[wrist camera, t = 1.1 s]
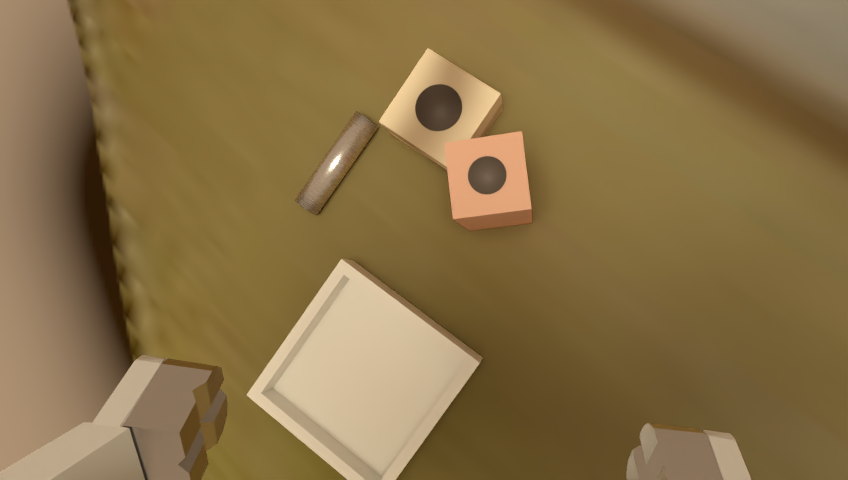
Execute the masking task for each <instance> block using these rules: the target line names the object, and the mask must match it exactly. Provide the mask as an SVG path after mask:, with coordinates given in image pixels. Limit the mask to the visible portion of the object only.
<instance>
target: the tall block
mask: <svg viewBox="0 0 848 480" xmlns="http://www.w3.org/2000/svg"><path fill="white" fill-rule="evenodd" d="M444 145H445V154H446V163H447V172H448V180H449V189H450V198H451V207H452V215H453V220H455V221H456V222H458V223H459V224H460V225H462V226H463V227H465V228H466V229H467V230H469V231H472V230H480V229H488V228H496V227H504V226H512V225H520V224H528V223H532V209H531V200H530V192H529V184H528V176H527V168H526V160H525V152H524V144H523V136H522V131H520V132H513V133H506V134H500V135H493V136H487V137H480V138H473V139H467V140H460V141H454V142H447V143H444Z"/></svg>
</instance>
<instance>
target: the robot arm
mask: <svg viewBox="0 0 848 480" xmlns="http://www.w3.org/2000/svg"><path fill="white" fill-rule="evenodd" d="M223 380H224V378H223V373H222V368H221V367H218V366H212V365H206V364H199V363H193V362H187V361H180V360H174V359H167V358H160V357H153V356H146V355H142V356H141V357H139V358H138V359H136V360H135V361H134V362H133V364H132V366H131V367H130V368H129V370H128V371H127V373H126V374H125V376H124V377H123V379H122V380H121V381H120V383H119V384H118V386H117V387H116V389H115V390H114V392H113V393H112V395H111V396H110V397H109V399H108V400H107V402H106V403H105V405H104V406H103V408H102V409H101V411H100V412H99V414H98V415H97V417H96V418H95V419H94V421H93V422H92V423H90V422H83V423H82V424H80V425H78V426H77V427H75V428H73V429H72V430H70V431H68V432H67V433H65V434H63V435H61V436H60V437H58V438H56V439H55V440H53V441H51V442H50V443H48V444H46V445H45V446H43V447H41V448H39V449H38V450H36V451H34V452H33V453H31V454H29V455H28V456H26V457H24V458H23V459H21V460H19V461H18V462H16V463H14V464H12V465H11V466H9V467H7V468H6V469H4V470H2V471H1V472H0V480H201V479H202V476H203V474H204V472H205V470H206V468H207V465H208V459H207V454H206V451H207V450H209V449H210V448H212V447H213V446H214V445H216V444H217V443H218V441H219V439H220V436H221V434H222V432H223V429H224V425H225V421H226V417H227V405H228V404H227V396H226V394H225V393H224V392H223V391H222V390H221V389H220V386H221V384H222V382H223ZM639 436H640V440H641V444H642V445H640V446H638V447H636V448H635V449H633V450H632V452H631V455H630V457H629V460H628V465H627V473H626V479H627V480H751V477H750V475H749V472H748V470H747V467H746V465H745V462H744V460H743V457H742V455H741V453H740V450H739V448H738V445H737V443H736V440H735V438H734V437H733V436H732V435H731V434H730V433H724V432H716V431H709V430H700V429H697V428H688V427H680V426H672V425H663V424H655V423H647V424H646V425H644V426H643V428H642V430H641V432H640V434H639Z"/></svg>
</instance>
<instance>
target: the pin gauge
mask: <svg viewBox="0 0 848 480" xmlns="http://www.w3.org/2000/svg"><path fill="white" fill-rule="evenodd" d="M377 129H378V127H377V126H376V125H375V124H374V123H373V122H371V121H370V120H369V119H367V118H366V117H364V116H363V115H361V114H360V113H358V112H357V111H356V112H355V114H354V115H353V117H352V118H351V119H350V121H349V122H348V124H347V125H346V127H345V128H344V130H343V131H342V132H341V134H340V135H339V137H338V138H337V140H336V141H335V143H334V144H333V145H332V147H331V148H330V150H329V151H328V153H327V154H326V155H325V157H324V158H323V160H322V161H321V163H320V164H319V166H318V167H317V168H316V170H315V171H314V173H313V174H312V176H311V177H310V179H309V180H308V181H307V183H306V184H305V186H304V187H303V189H302V190H301V192H300V193H299V194H298V196H297V197H296V199H295V201H296V202H297V203H298V204H299V205H301V206H302V207H303V208H305V209H306V210H308V211H310V212H311V213H313V214H315V215H318V213H319V212H320V210H321V209H322V207H323V206H324V205H325V203H326V202H327V200H328V199H329V197H330V196H331V194H332V193H333V192H334V190H335V189H336V187H337V186H338V184H339V183H340V182H341V180H342V179H343V177H344V176H345V174H346V173H347V172H348V170H349V169H350V167H351V166H352V164H353V163H354V162H355V160H356V159H357V157H358V156H359V154H360V153H361V151H362V150H363V149H364V147H365V146H366V144H367V143H368V141H369V140H370V139H371V137H372V136H373V134H374V133H375V131H376V130H377Z"/></svg>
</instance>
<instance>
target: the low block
mask: <svg viewBox="0 0 848 480" xmlns="http://www.w3.org/2000/svg"><path fill="white" fill-rule="evenodd" d="M502 111H503V104H502V98H501V94H500V93H499V92H497V91H496V90H494V89H492V88H491V87H489V86H488V85H486V84H484V83H483V82H481V81H480V80H478V79H476V78H475V77H473V76H472V75H470V74H468V73H467V72H465V71H464V70H462V69H460V68H459V67H457V66H456V65H454V64H452V63H451V62H449V61H448V60H446V59H444V58H443V57H441V56H440V55H438V54H436V53H435V52H433V51H432V50H430V49H427V50H426V52H425V53H424V55H423V56H422V58H421V59H420V61H419V62H418V64H417V65H416V67H415V68H414V70H413V71H412V73H411V74H410V76H409V77H408V79H407V80H406V81H405V83H404V84H403V86H402V87H401V89H400V90H399V92H398V93H397V95H396V96H395V98H394V99H393V101H392V102H391V104H390V105H389V107H388V108H387V110H386V111H385V113H384V114H383V116H382V117H381V119H380V120H379V122H380V123H381V124H382V125H383V126H384V127H385V128H386V129H387V130H388V131H389V132H390V133H391V134H392V135H393V136H395V137H396V138H398V139H399V140H401V141H402V142H404V143H405V144H407V145H408V146H410V147H411V148H413V149H414V150H416V151H417V152H419V153H420V154H422V155H423V156H425V157H426V158H428V159H429V160H431V161H432V162H434V163H435V164H437V165H438V166H440V167H441V168H443V169H444V170H446V171H447V163H446V154H445V145H444V143H447V142H454V141H460V140H467V139H473V138H480V137H485V136H486V134H487V133H488V131H489V130H490V128H491V127H492V125H493V124H494V123H495V121H496V120H497V118H498V117H499V115H500V114H501V112H502Z"/></svg>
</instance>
